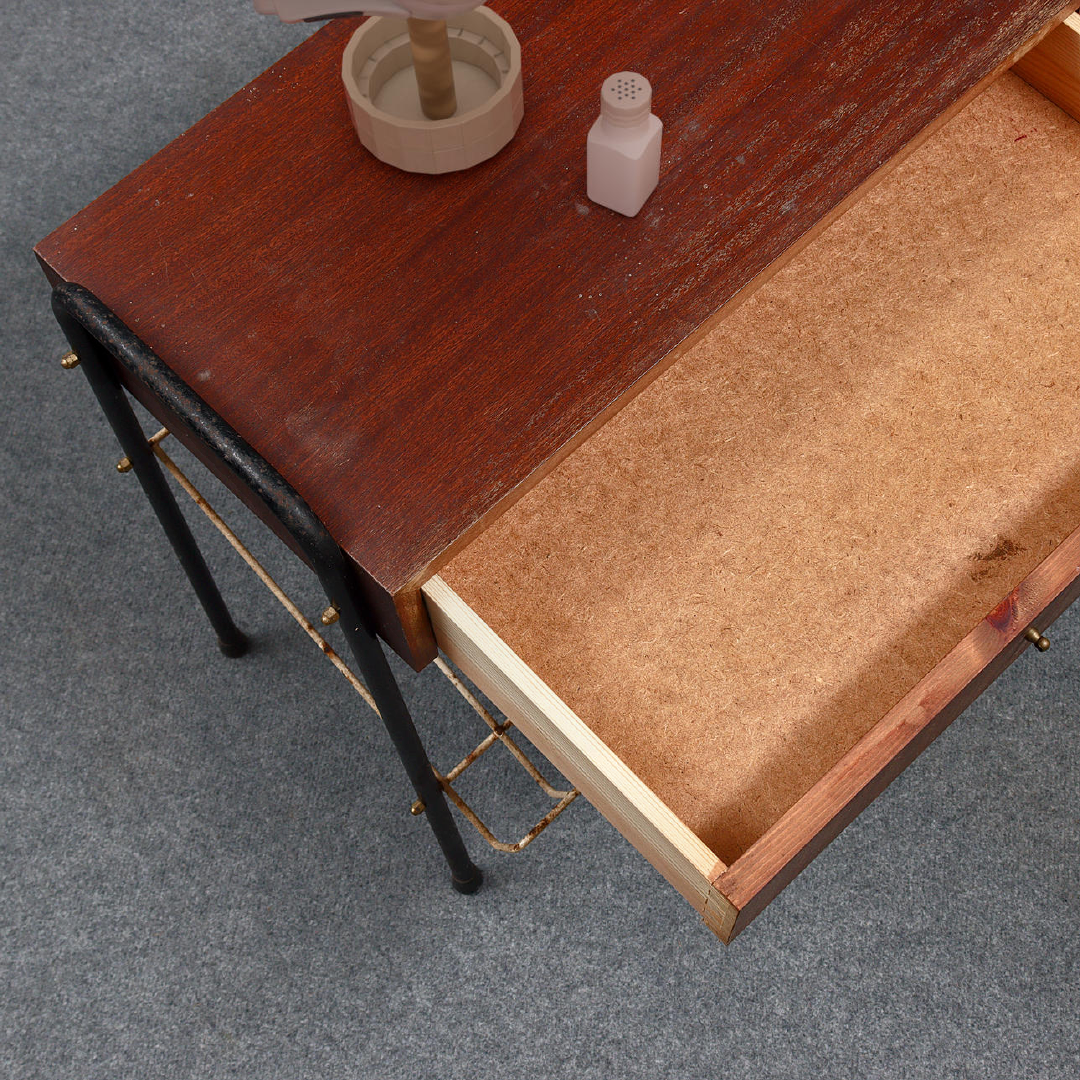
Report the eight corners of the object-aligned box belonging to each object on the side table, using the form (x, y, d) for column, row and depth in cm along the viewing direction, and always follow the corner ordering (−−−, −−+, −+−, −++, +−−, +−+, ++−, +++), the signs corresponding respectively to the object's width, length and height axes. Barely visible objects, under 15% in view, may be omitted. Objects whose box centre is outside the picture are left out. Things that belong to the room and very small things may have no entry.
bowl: (349, 183, 89) (337, 132, 85) (358, 53, 95) (346, -2, 90) (525, 177, 89) (521, 125, 85) (523, 46, 95) (519, -9, 90)
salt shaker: (611, 162, 89) (614, 57, 81) (661, 183, 88) (669, 79, 80) (583, 201, 88) (583, 98, 79) (634, 223, 87) (639, 122, 78)
